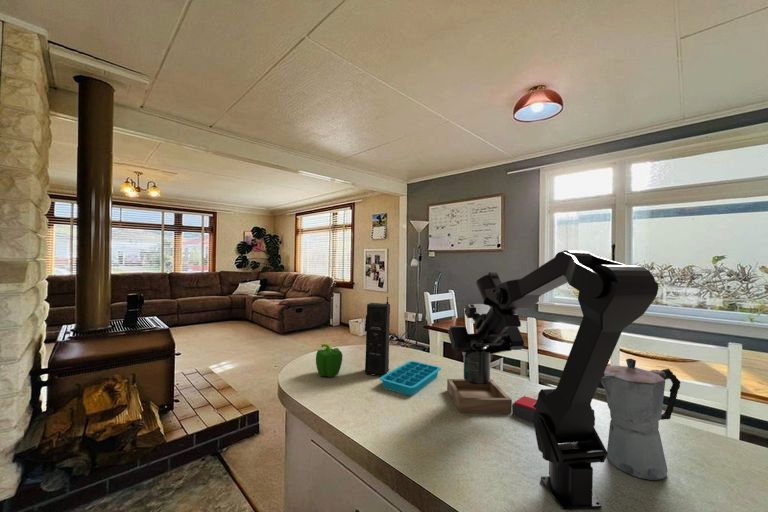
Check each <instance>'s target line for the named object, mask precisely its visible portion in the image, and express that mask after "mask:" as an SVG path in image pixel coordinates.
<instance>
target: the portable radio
mask: <svg viewBox="0 0 768 512" xmlns="http://www.w3.org/2000/svg"><path fill="white" fill-rule="evenodd" d="M390 313H391V304H390V303H389V296H386V303H380V302H379V303H378V302H370V303H367V304H366V315H365V322H364V323H365V324H364V332H366V336H365V337H366V338H365V359H364V360H365V364H364V374H365V373H367V374H366V375H370V374H374V375H373V376H377V375H382V376H383V375H385V374H387V372H388V373H389V365H390V359H389V357H390V323H391V320H390V319H391V314H390ZM382 376H381V377H382Z"/></svg>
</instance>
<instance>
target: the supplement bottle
mask: <svg viewBox="0 0 768 512" xmlns="http://www.w3.org/2000/svg"><path fill="white" fill-rule="evenodd" d="M472 349H473V352H472V353H470V354H468V355H465V356H463V379H465V381H467V382H469V383H471V384H476V385H485V384H488V383H489V382H490V379H491V355H490V349H489V347H488V346H483V345H482V344H473V346H472Z"/></svg>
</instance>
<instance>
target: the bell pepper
mask: <svg viewBox="0 0 768 512" xmlns="http://www.w3.org/2000/svg"><path fill="white" fill-rule="evenodd" d="M320 346H321V348H323V347H325V348H324V349H318V350H317V351H316V354H315V365H316V366H315V367H316V370H317V373H318V375H319V376H320V377H329V378H334V377H336V376H338V374H339V373H340V371H341V367H342V363H343V353H342V351H341V350H340V349H339V348H338V347H334V348H332V347H331V346H330V345H329V344H328V343H322V344H321V345H320Z"/></svg>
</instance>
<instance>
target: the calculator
mask: <svg viewBox="0 0 768 512" xmlns="http://www.w3.org/2000/svg"><path fill="white" fill-rule="evenodd" d="M538 394H539V392H536V391H532V390H530V391H528V393H526V394H524V395H523V396H521V397H519V398H518V399H516V400H515V401H514V403H513V402H512V413H511V414H512V416H513V417H517V418H519V419H522V420H524V421H527V422H529V423H532V424H534V422H533V418H534V412H535V409H536V408H534V407H533V405H534V404H536V402H537V399H538ZM592 410H593V413H594V416H595V410H594V409H593V408H592ZM595 417H596V416H595ZM595 424H596V422H595V423H594V426H595Z"/></svg>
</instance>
